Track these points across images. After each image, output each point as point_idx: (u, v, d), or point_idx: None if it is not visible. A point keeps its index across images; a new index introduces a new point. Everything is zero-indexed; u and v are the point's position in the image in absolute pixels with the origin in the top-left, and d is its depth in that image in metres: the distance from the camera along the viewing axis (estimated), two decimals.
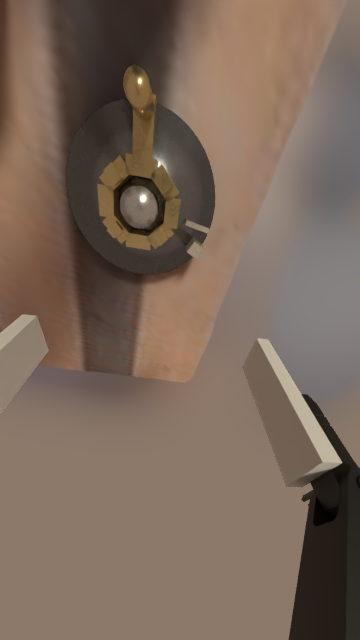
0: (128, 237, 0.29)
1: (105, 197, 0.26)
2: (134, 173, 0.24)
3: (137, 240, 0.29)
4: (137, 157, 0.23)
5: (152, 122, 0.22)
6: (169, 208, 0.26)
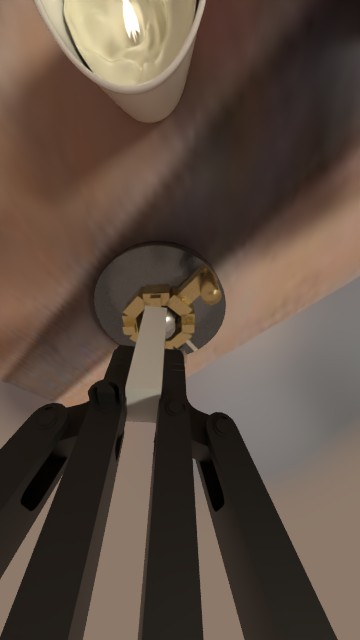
0: (136, 334, 0.31)
1: (137, 306, 0.28)
2: (171, 307, 0.28)
3: None
4: (180, 301, 0.27)
5: None
6: (180, 336, 0.31)
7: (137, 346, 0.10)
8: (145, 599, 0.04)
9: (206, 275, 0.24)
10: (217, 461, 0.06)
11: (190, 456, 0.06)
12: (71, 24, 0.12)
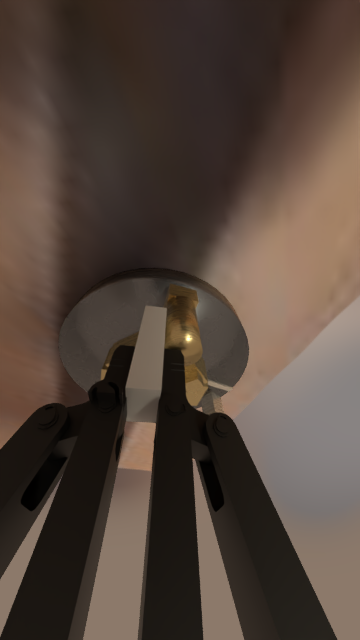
0: None
1: None
2: None
3: None
4: None
5: None
6: (192, 392, 0.21)
7: (137, 346, 0.10)
8: (145, 599, 0.04)
9: (170, 309, 0.14)
10: (217, 461, 0.06)
11: (190, 456, 0.06)
12: None
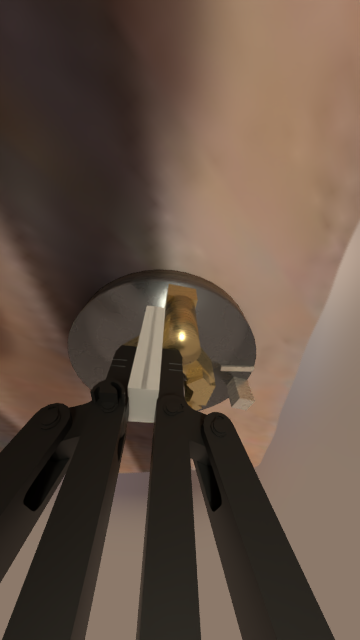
0: None
1: None
2: None
3: None
4: None
5: None
6: (199, 391, 0.21)
7: (139, 346, 0.10)
8: (143, 600, 0.04)
9: (168, 309, 0.14)
10: (214, 461, 0.06)
11: (188, 456, 0.06)
12: None
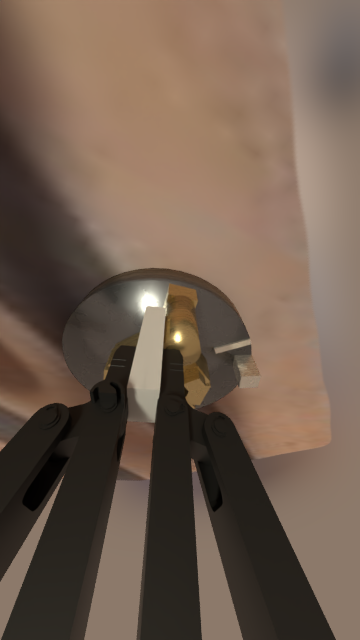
0: None
1: None
2: None
3: None
4: None
5: None
6: (194, 391, 0.21)
7: (138, 346, 0.10)
8: (143, 599, 0.04)
9: (169, 309, 0.14)
10: (215, 461, 0.06)
11: (188, 456, 0.06)
12: None
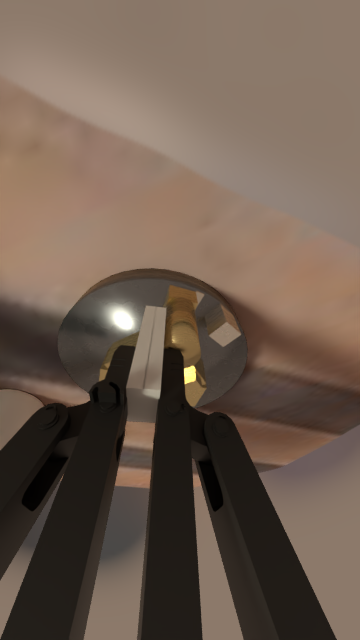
0: None
1: None
2: None
3: None
4: None
5: None
6: (190, 392, 0.21)
7: (138, 346, 0.10)
8: (144, 599, 0.04)
9: (169, 311, 0.14)
10: (216, 461, 0.06)
11: (189, 456, 0.06)
12: None
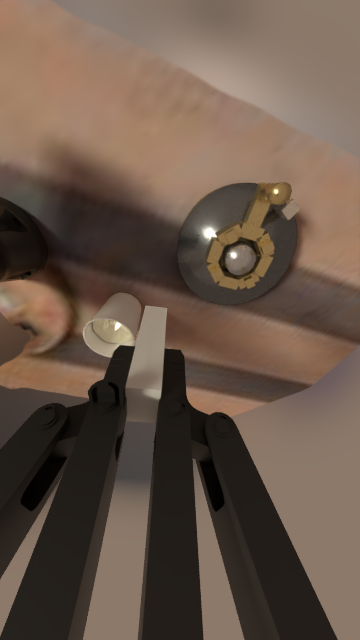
0: (222, 279, 0.35)
1: (216, 250, 0.32)
2: (245, 236, 0.31)
3: (229, 282, 0.36)
4: (251, 226, 0.30)
5: (269, 204, 0.29)
6: (262, 262, 0.34)
7: (137, 346, 0.10)
8: (145, 599, 0.04)
9: (267, 185, 0.27)
10: (217, 461, 0.06)
11: (190, 456, 0.06)
12: (130, 339, 0.41)
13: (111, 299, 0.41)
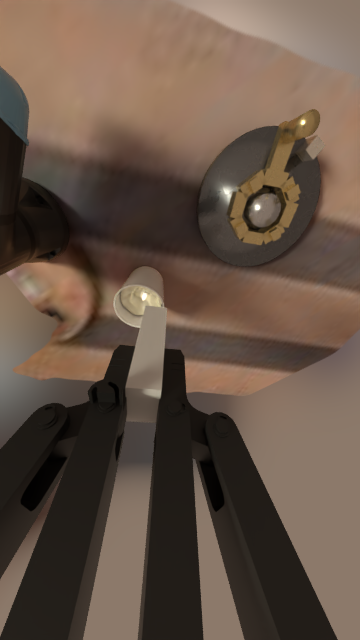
0: (247, 234, 0.35)
1: (239, 202, 0.32)
2: (268, 183, 0.31)
3: (253, 237, 0.35)
4: (275, 171, 0.30)
5: (292, 145, 0.29)
6: (287, 211, 0.33)
7: (137, 346, 0.10)
8: (145, 599, 0.04)
9: (291, 121, 0.26)
10: (217, 461, 0.06)
11: (190, 456, 0.06)
12: None
13: (135, 272, 0.41)
